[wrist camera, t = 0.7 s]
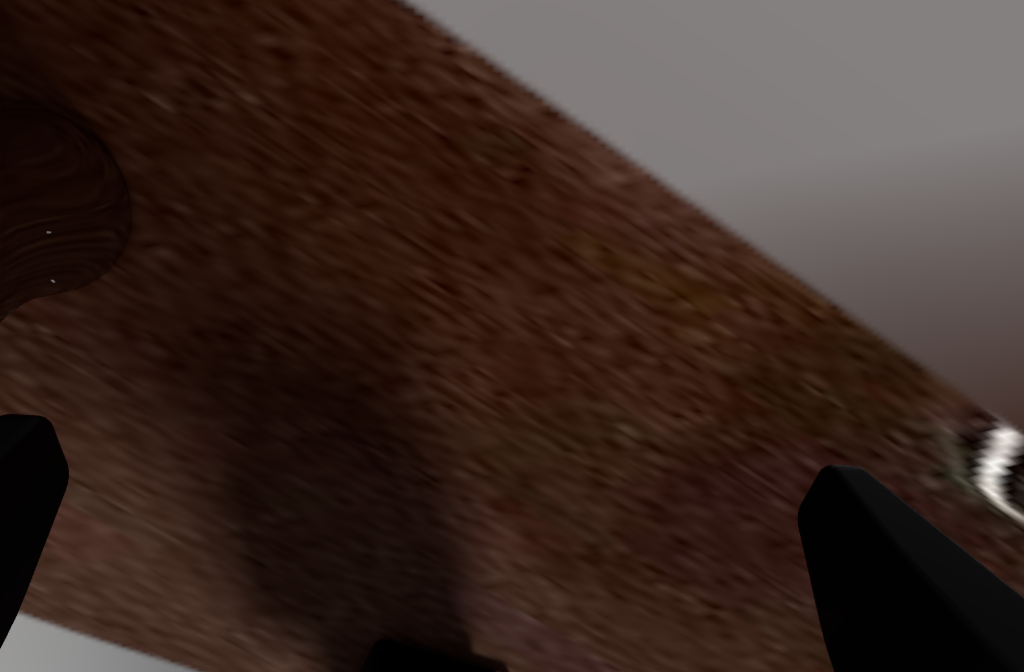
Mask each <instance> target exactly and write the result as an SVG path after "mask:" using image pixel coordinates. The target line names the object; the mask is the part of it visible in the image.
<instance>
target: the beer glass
mask: <svg viewBox="0 0 1024 672" xmlns="http://www.w3.org/2000/svg"><path fill="white" fill-rule="evenodd" d="M130 227H131V206H130V200H129V195H128V191H127V188H126V185H125V183H124V180H123V178H122V176H121V174H120V172H119V170H118V168H117V166H116V164H115V163H114V161H113V160H112V158H111V157H110V155H109V154H108V153H107V151H106V150H105V149H104V148H103V146H102V145H101V144H100V143H99V142H98V141H97V140H96V139H95V138H94V137H93V136H92V135H91V134H90V133H89V132H88V131H86V130H85V129H84V128H83V127H81V126H80V125H79V124H77V123H76V122H74V121H73V120H71V119H69V118H68V117H66V116H64V115H62V114H60V113H58V112H56V111H54V110H51V109H49V108H46V107H43V106H40V105H37V104H33V103H29V102H24V101H17V100H0V322H1V321H3V320H4V319H5V318H6V317H7V316H8V315H9V314H10V313H12V312H13V311H14V310H15V309H16V308H18V307H20V306H21V305H23V304H24V303H26V302H28V301H31V300H33V299H37V298H41V297H46V296H50V295H55V294H59V293H64V292H68V291H71V290H75V289H78V288H81V287H83V286H85V285H87V284H90V283H92V282H93V281H95V280H97V279H98V278H100V277H101V276H103V275H104V274H105V273H106V272H108V271H109V270H110V269H111V268H112V266H113V265H114V264H115V263H116V261H117V260H118V259H119V257H120V256H121V254H122V252H123V250H124V248H125V246H126V243H127V240H128V237H129V233H130Z"/></svg>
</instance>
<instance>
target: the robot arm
mask: <svg viewBox="0 0 1024 672" xmlns="http://www.w3.org/2000/svg"><path fill="white" fill-rule="evenodd" d="M68 480H69V468H68V464H67V461H66V459H65V456H64V453H63V451H62V448H61V446H60V443H59V441H58V438H57V435H56V433H55V430H54V428H53V425H52V423H51V422H50V421H49V420H48V419H47V418H46V417H42V416H37V415H21V414H6V415H2V416H0V648H1V646H2V644H3V642H4V641H5V639H6V637H7V635H8V632H9V630H10V628H11V626H12V624H13V622H14V620H15V618H16V616H17V614H18V611H19V609H20V607H21V604H22V602H23V599H24V597H25V595H26V592H27V590H28V587H29V584H30V582H31V579H32V577H33V574H34V571H35V569H36V566H37V564H38V561H39V558H40V556H41V553H42V551H43V548H44V545H45V543H46V540H47V538H48V535H49V533H50V530H51V527H52V525H53V522H54V520H55V517H56V514H57V512H58V509H59V507H60V504H61V501H62V499H63V496H64V494H65V491H66V488H67V485H68ZM798 527H799V532H800V536H801V541H802V545H803V550H804V554H805V559H806V563H807V568H808V572H809V577H810V581H811V585H812V590H813V594H814V599H815V603H816V608H817V612H818V617H819V621H820V625H821V629H822V633H823V637H824V641H825V644H826V648H827V651H828V654H829V657H830V660H831V664H832V667H833V670H834V672H1024V597H1022V596H1021V595H1020V594H1019V593H1017V592H1016V591H1015V590H1014V589H1012V588H1011V587H1010V586H1009V585H1007V584H1006V583H1005V582H1004V581H1002V580H1001V579H1000V578H999V577H997V576H996V575H995V574H994V573H992V572H991V571H990V570H989V569H987V568H986V567H985V566H984V565H982V564H981V563H980V562H979V561H977V560H976V559H975V558H974V557H972V556H971V555H970V554H969V553H967V552H966V551H965V550H964V549H962V548H961V547H960V546H959V545H957V544H956V543H955V542H954V541H952V540H951V539H950V538H949V537H948V536H946V535H945V534H944V533H943V532H941V531H940V530H939V529H938V528H936V527H935V526H934V525H933V524H931V523H930V522H929V521H928V520H926V519H925V518H924V517H923V516H921V515H920V514H919V513H918V512H916V511H915V510H914V509H913V508H911V507H910V506H909V505H908V504H906V503H905V502H904V501H903V500H901V499H900V498H899V497H898V496H896V495H895V494H894V493H893V492H891V491H890V490H889V489H888V488H886V487H885V486H884V485H883V484H881V483H880V482H879V481H878V480H877V479H875V478H874V477H873V476H872V475H870V474H869V473H868V472H866V471H865V470H864V469H862V468H860V467H856V466H844V465H827V466H825V467H824V468H823V469H821V471H820V472H819V474H818V475H817V477H816V479H815V481H814V482H813V484H812V486H811V487H810V489H809V491H808V493H807V494H806V496H805V498H804V500H803V501H802V503H801V505H800V508H799V511H798ZM382 652H387V653H382ZM360 672H493V671H489V670H486V669H483V668H479V667H476V666H473V665H469V664H466V663H463V662H459V661H456V660H453V659H449V658H446V657H443V656H439V655H436V654H433V653H429V652H426V651H423V650H419V649H416V648H413V647H409V646H406V645H403V644H399V643H396V642H393V641H390V640H380V641H378V642H376V643H375V645H374V646H373V648H372V650H371V652H370V654H369V656H368V658H367V660H366V662H365V663H364V665H363V667H362V669H361V671H360Z"/></svg>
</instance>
